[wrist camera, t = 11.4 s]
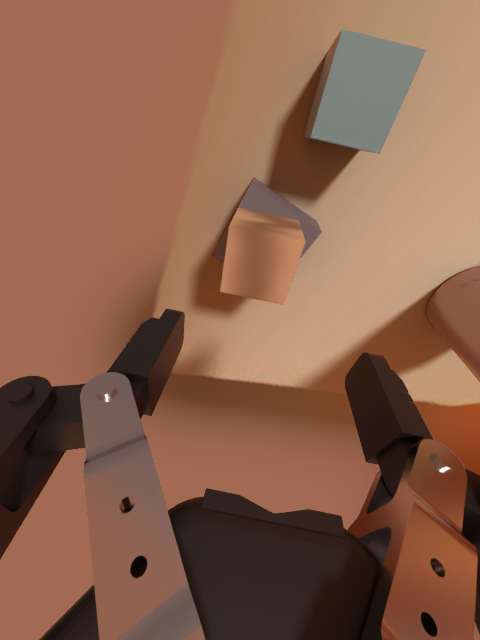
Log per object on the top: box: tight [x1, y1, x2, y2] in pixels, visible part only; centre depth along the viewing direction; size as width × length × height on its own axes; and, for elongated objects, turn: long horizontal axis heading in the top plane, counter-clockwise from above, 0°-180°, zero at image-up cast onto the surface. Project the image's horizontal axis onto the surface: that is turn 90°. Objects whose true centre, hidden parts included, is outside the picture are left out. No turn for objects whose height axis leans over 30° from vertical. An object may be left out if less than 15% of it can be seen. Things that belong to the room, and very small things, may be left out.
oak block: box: [220, 208, 305, 305], centre depth 21 cm, size 6×6×6 cm
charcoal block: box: [212, 177, 322, 262], centre depth 25 cm, size 8×8×4 cm
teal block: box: [304, 29, 426, 153], centre depth 17 cm, size 5×5×5 cm
